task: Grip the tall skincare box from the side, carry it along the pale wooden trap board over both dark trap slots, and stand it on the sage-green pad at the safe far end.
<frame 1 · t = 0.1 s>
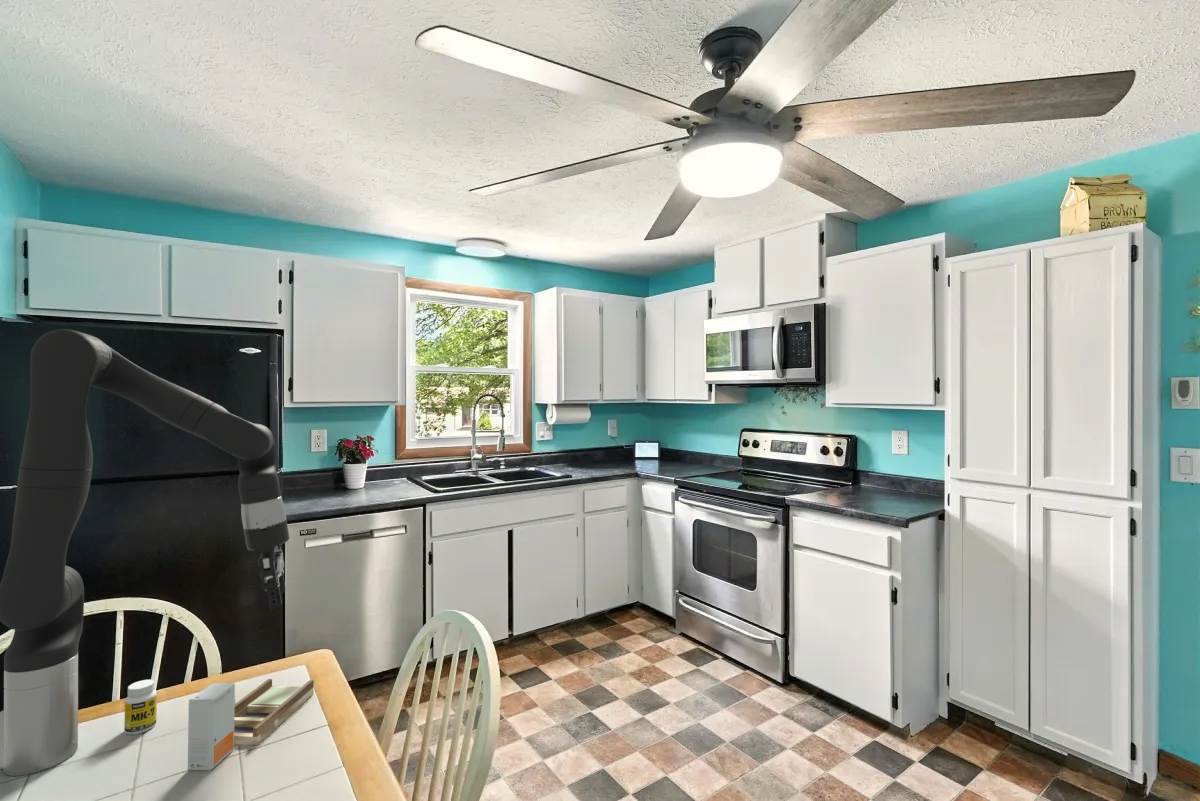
hand: (277, 600, 114), 22 cm above the table, tool pointing down, fingers open, 8 cm apart
supplement bottle: (140, 729, 107), on the table
skincare box: (212, 761, 98), on the table
trap board: (263, 716, 111), on the table
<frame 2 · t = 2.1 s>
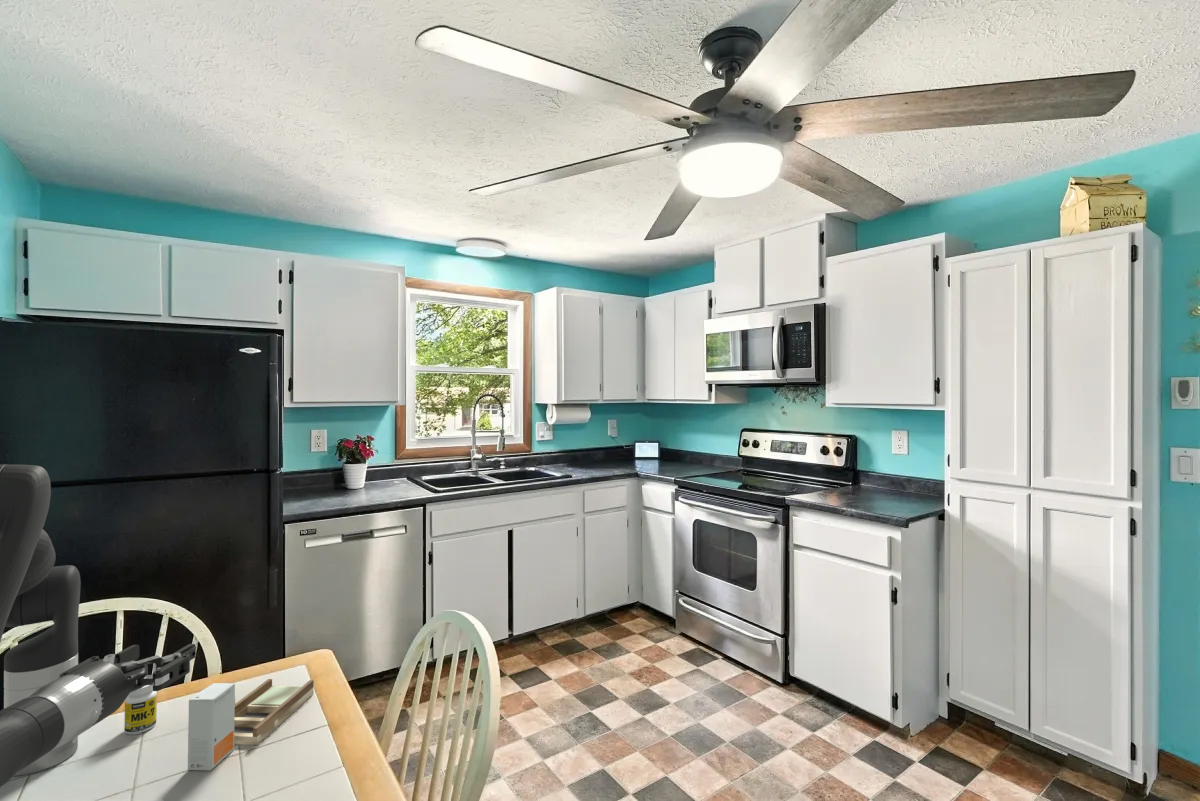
hand: (165, 650, 87), 24 cm above the table, tool horizontal, fingers open, 8 cm apart
nothing on the table moved.
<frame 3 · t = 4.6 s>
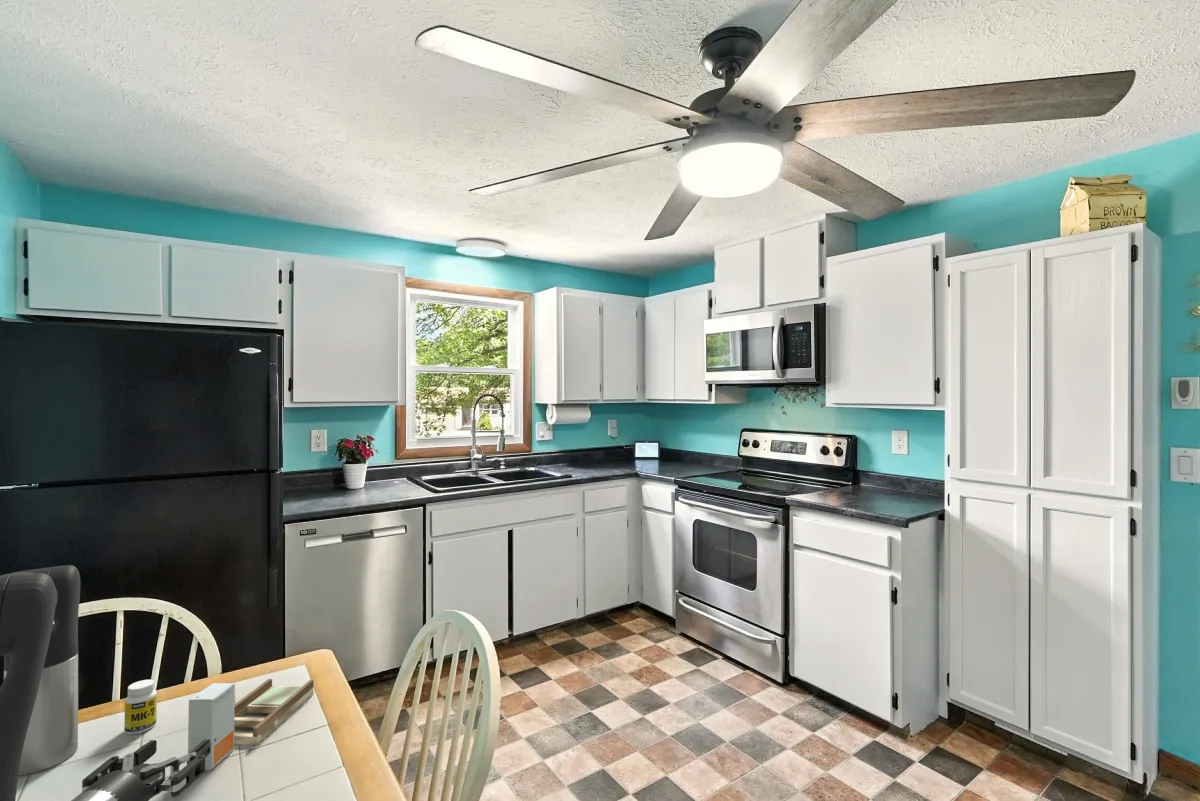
hand: (181, 745, 90), 7 cm above the table, tool horizontal, fingers open, 8 cm apart
nothing on the table moved.
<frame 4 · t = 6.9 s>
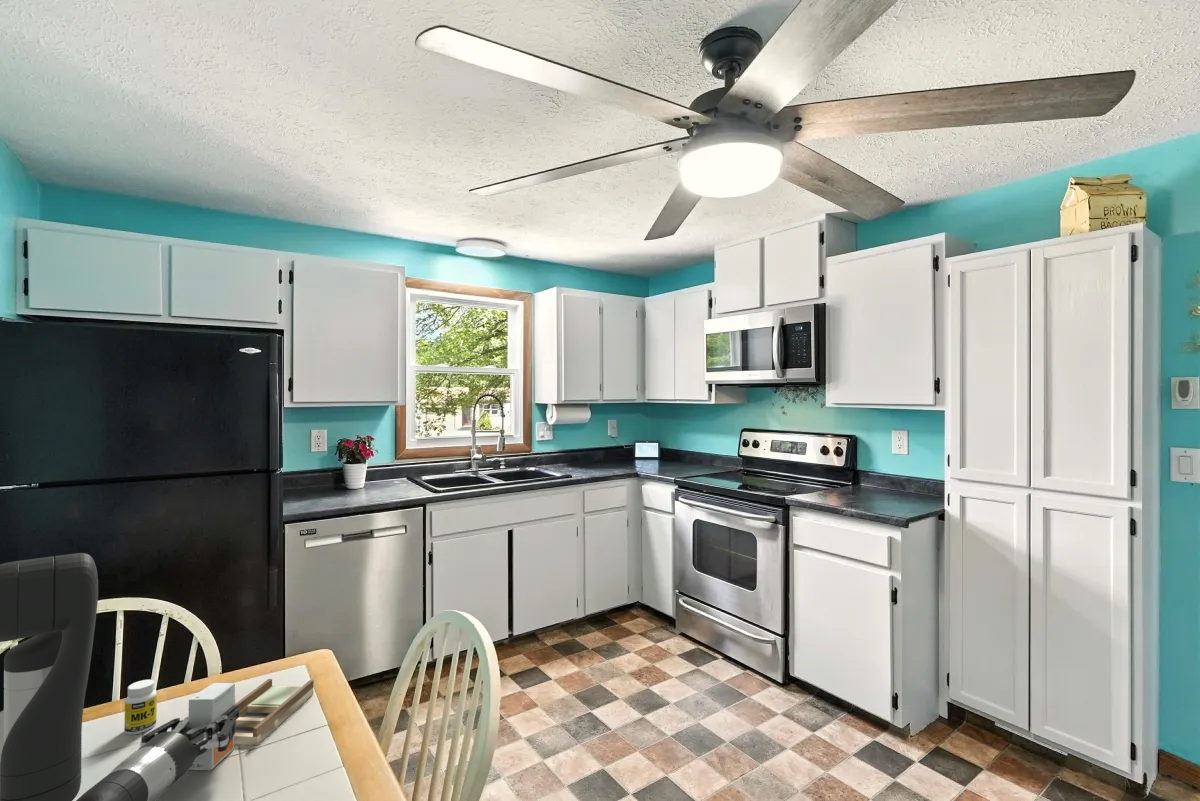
hand: (222, 710, 100), 7 cm above the table, tool horizontal, fingers closed on skincare box, 4 cm apart
skincare box: (212, 760, 98), on the table, touching gripper
everything else where it was.
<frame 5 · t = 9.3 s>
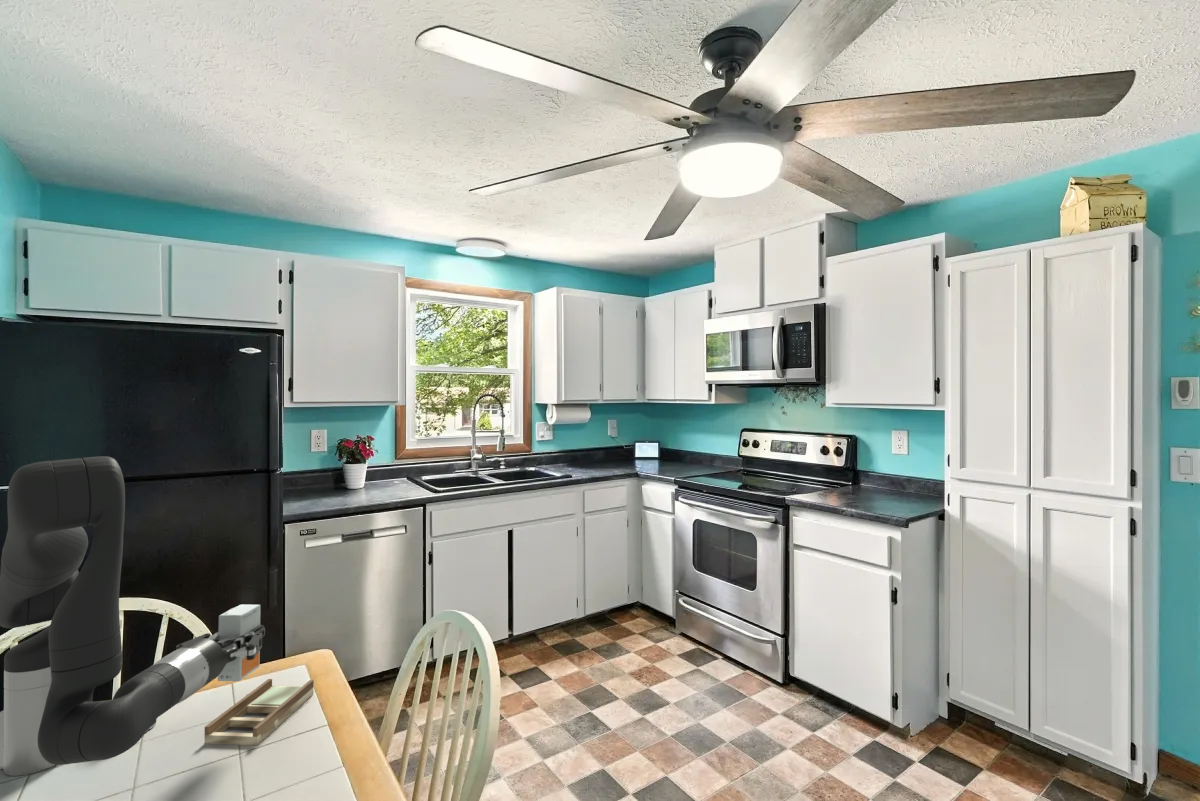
hand: (248, 630, 107), 19 cm above the table, tool horizontal, fingers closed on skincare box, 4 cm apart
skincare box: (239, 675, 105), point 11 cm above the table, touching gripper
everything else where it was.
when the fingers open (10 cm above the table, at t = 12.0 s): skincare box drops 1 cm, resting on trap board.
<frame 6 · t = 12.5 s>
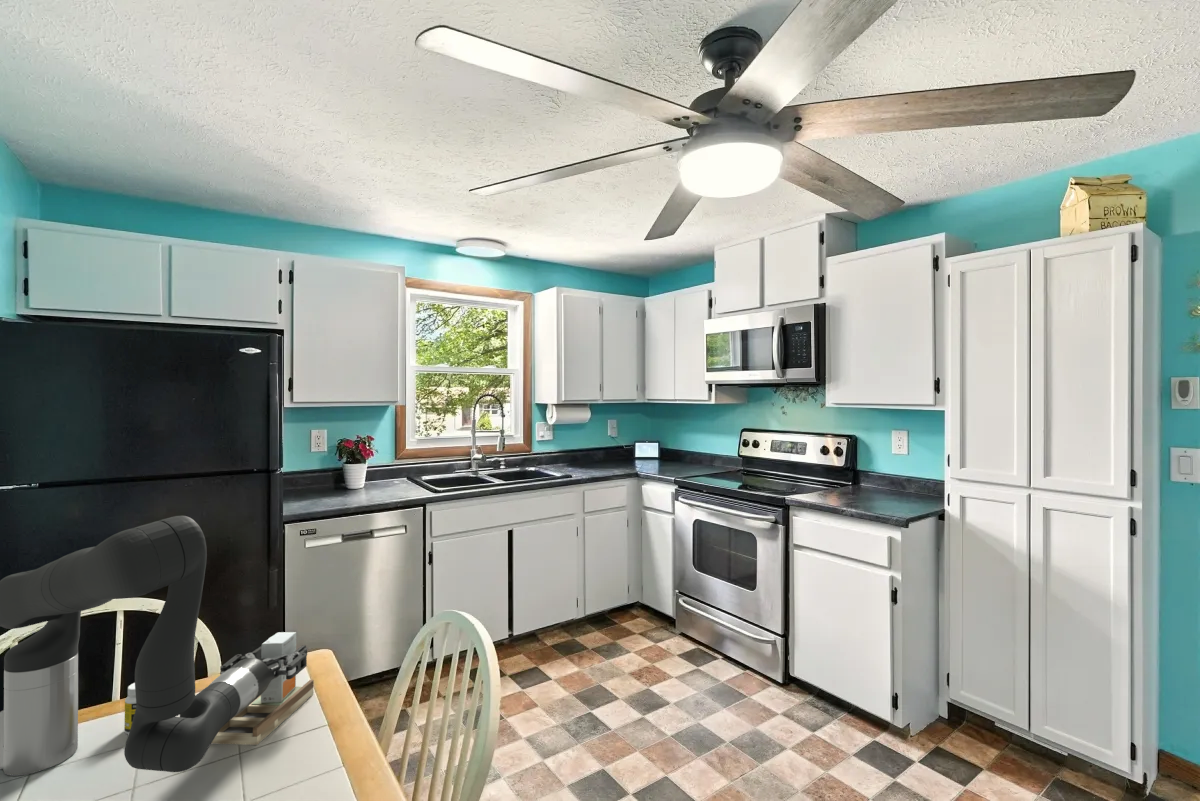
hand: (284, 650, 118), 10 cm above the table, tool horizontal, fingers open, 8 cm apart
skincare box: (279, 696, 116), point 1 cm above the table, touching trap board
everything else where it was.
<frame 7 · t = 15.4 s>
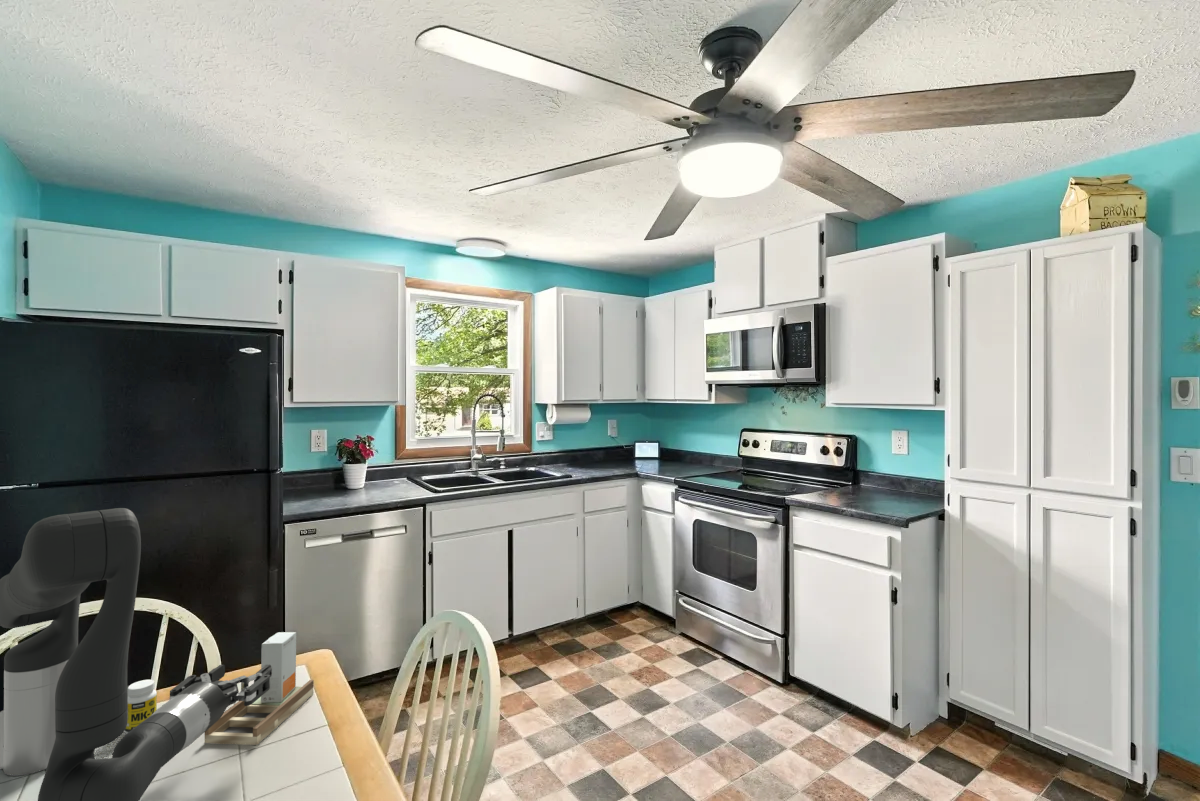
hand: (246, 669, 105), 12 cm above the table, tool horizontal, fingers open, 8 cm apart
nothing on the table moved.
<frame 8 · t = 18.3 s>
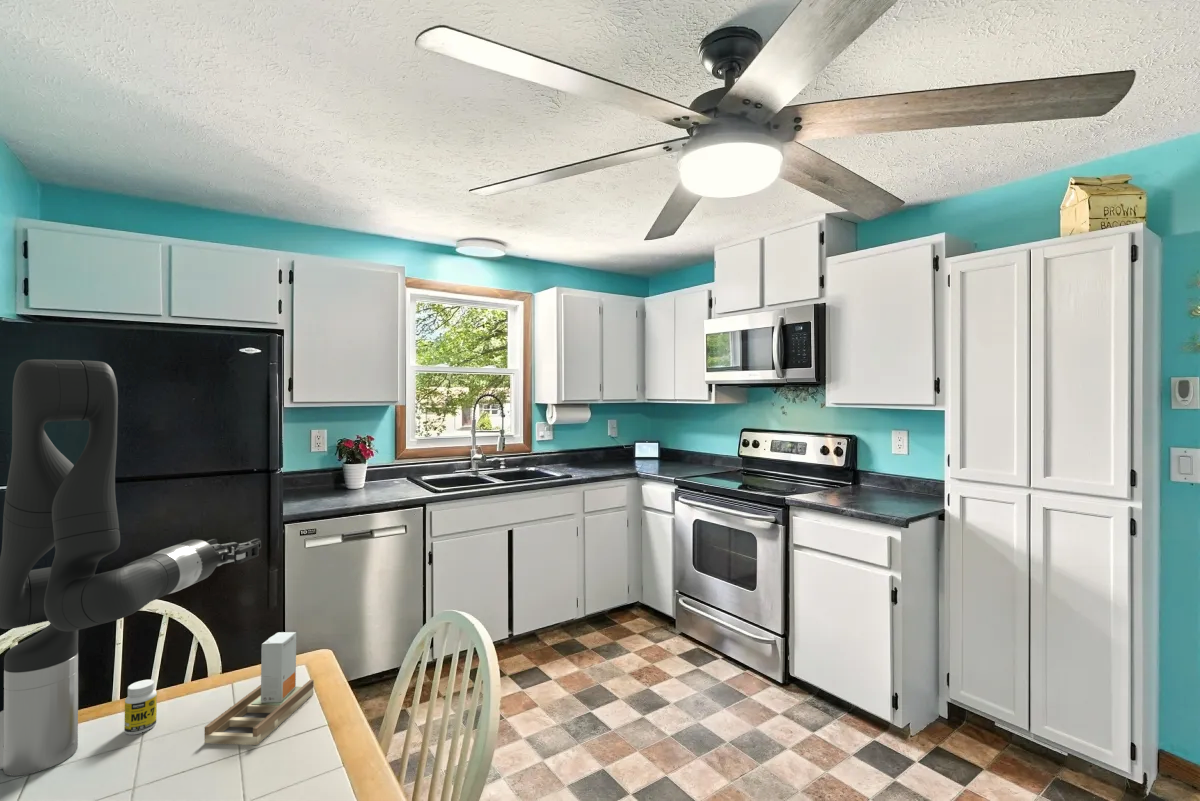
hand: (236, 543, 113), 34 cm above the table, tool horizontal, fingers open, 8 cm apart
nothing on the table moved.
at the end: skincare box 0.1 cm from the target spot on the trap board, point 1.5 cm above the trap board's base; skincare box tilted 0°; the gripper is holding nothing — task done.
